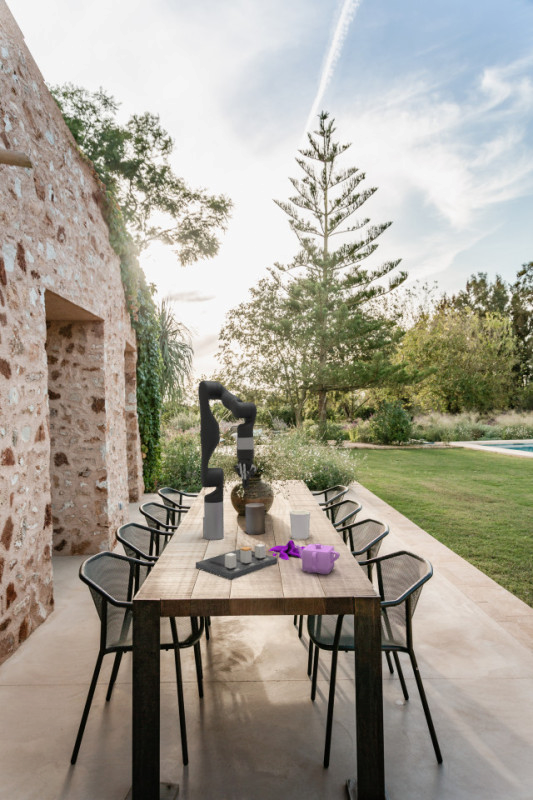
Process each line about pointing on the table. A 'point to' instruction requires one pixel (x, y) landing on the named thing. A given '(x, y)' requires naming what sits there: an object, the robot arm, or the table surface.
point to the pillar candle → (255, 518)
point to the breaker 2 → (260, 551)
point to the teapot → (318, 558)
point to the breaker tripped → (246, 554)
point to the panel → (218, 565)
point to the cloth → (287, 550)
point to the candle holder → (300, 524)
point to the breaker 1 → (230, 560)
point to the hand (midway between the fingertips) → (245, 487)
